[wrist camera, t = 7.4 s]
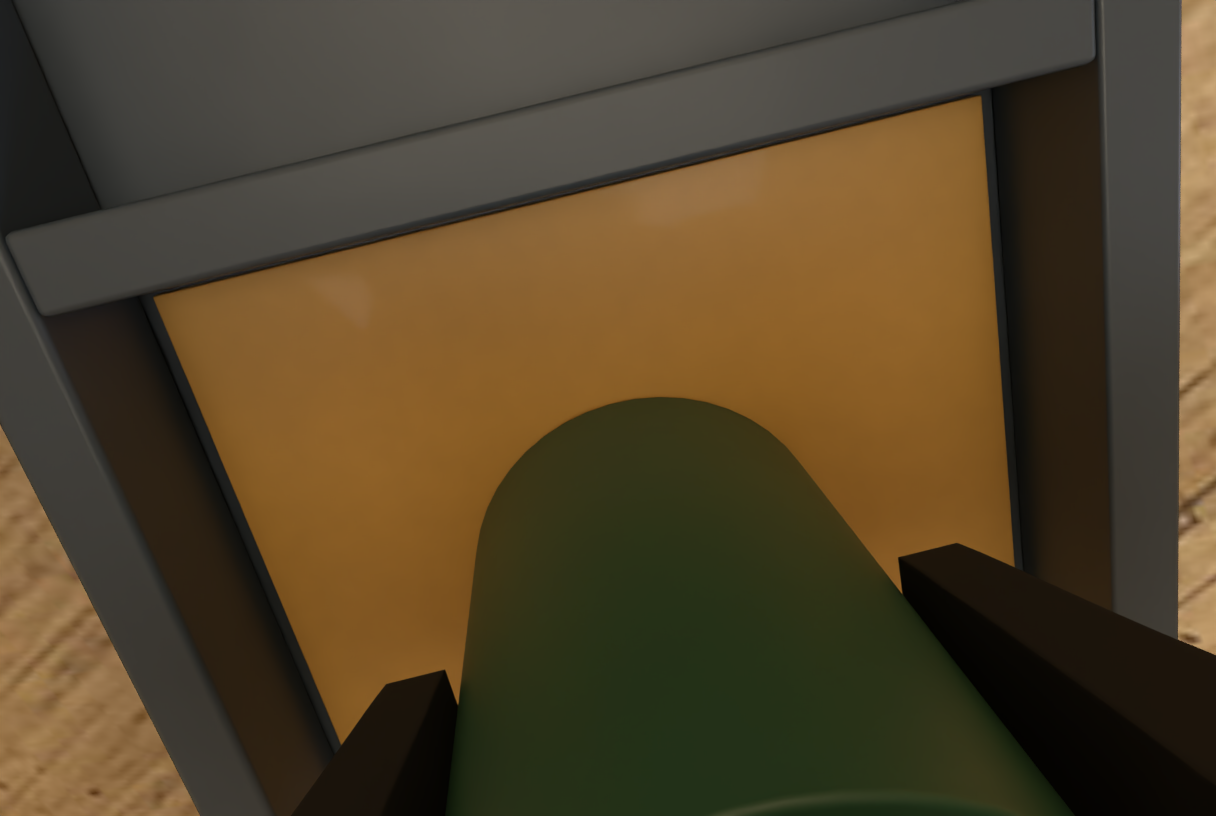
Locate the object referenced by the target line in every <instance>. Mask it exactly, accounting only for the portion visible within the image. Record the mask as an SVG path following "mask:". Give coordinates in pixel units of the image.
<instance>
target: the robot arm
mask: <svg viewBox="0 0 1216 816" xmlns="http://www.w3.org/2000/svg"><path fill="white" fill-rule="evenodd" d="M898 563H899V571H900V579H901V587H902V594H903V596H904V597H905V598H906V599H907V601H908V602H909V603H910V605H911V606H912V607H913V608H914V610H915V611H916V612H917V614H918V615H919V616H920V617H921V619H922V620H923V621H924V623H925V624H926V625H927V626H928V628H929V629H930V630H931V632H932V633H933V634H934V635H935V637H936V638H937V639H938V641H939V642H940V643H941V644H942V646H943V647H944V648H945V650H946V651H947V652H948V653H949V655H950V656H951V657H952V659H953V660H954V661H955V662H956V664H957V665H958V666H959V667H960V669H961V670H962V671H963V673H964V674H965V675H966V676H967V678H968V679H969V680H970V682H971V683H972V684H973V685H974V687H975V688H976V689H977V691H978V692H979V693H980V694H981V696H982V697H983V698H984V700H985V701H986V702H987V703H988V705H989V706H990V707H991V709H992V710H993V711H994V712H995V714H996V715H997V716H998V718H999V719H1000V720H1001V721H1002V723H1003V724H1004V725H1005V727H1006V728H1007V729H1008V730H1009V732H1010V733H1011V734H1012V735H1013V737H1014V738H1015V739H1016V741H1017V742H1018V743H1019V744H1020V746H1021V747H1022V748H1023V750H1024V751H1025V752H1026V753H1027V755H1028V756H1029V757H1030V759H1031V760H1032V761H1033V762H1034V764H1035V765H1036V766H1037V768H1038V769H1039V770H1040V771H1041V773H1042V774H1043V775H1044V777H1045V778H1046V779H1047V780H1048V782H1049V783H1050V784H1051V786H1052V787H1053V788H1054V789H1055V791H1056V792H1057V793H1058V795H1059V796H1060V797H1061V798H1062V800H1063V801H1064V802H1065V804H1066V805H1067V806H1068V807H1069V809H1070V810H1071V811H1072V812H1073V814H1074V815H1075V816H1216V655H1214V654H1211V653H1209V652H1206V651H1204V650H1202V649H1199V648H1197V647H1194V646H1192V645H1189V644H1187V643H1184V642H1182V641H1180V640H1177V639H1175V638H1173V637H1170V636H1168V635H1165V634H1163V633H1161V632H1158V631H1156V630H1154V629H1151V628H1149V627H1147V626H1144V625H1142V624H1140V623H1137V622H1135V621H1133V620H1131V619H1128V618H1126V617H1124V616H1121V615H1119V614H1117V613H1115V612H1112V611H1110V610H1108V609H1106V608H1103V607H1101V606H1099V605H1097V604H1094V603H1092V602H1090V601H1088V600H1085V599H1083V598H1081V597H1079V596H1077V595H1074V594H1072V593H1070V592H1068V591H1066V590H1063V589H1061V588H1059V587H1057V586H1055V585H1052V584H1050V583H1048V582H1046V581H1044V580H1041V579H1039V578H1037V577H1035V576H1033V575H1031V574H1028V573H1026V572H1024V571H1022V570H1020V569H1017V568H1015V567H1013V566H1011V565H1009V564H1006V563H1004V562H1002V561H1000V560H997V559H995V558H993V557H991V556H988V555H986V554H984V553H981V552H979V551H977V550H974V549H972V548H969V547H967V546H964V545H962V544H959V543H954V544H950V545H946V546H942V547H938V548H933V549H929V550H925V551H921V552H917V553H913V554H909V555H905V556H901V557H898ZM457 710H458V704H457V701H456V699H455V696H454V693H453V690H452V687H451V685H450V682H449V679H448V676H447V673H446V670H445V669H444V670H440V671H436V672H432V673H428V674H424V675H420V676H416V677H412V678H408V679H404V680H400V681H396V682H392V683H388V684H386V685H385V686H384V687H383V689H382V690H381V691H380V692H379V694H378V695H377V696H376V698H375V699H374V700H373V702H372V703H371V704H370V706H369V707H368V709H367V710H366V711H365V713H364V714H363V715H362V717H361V718H360V720H359V721H358V723H357V724H356V725H355V727H354V728H353V730H352V731H351V732H350V734H349V735H348V737H347V738H346V739H345V741H344V742H343V744H342V745H341V747H340V748H339V749H338V751H337V752H336V754H335V755H334V756H333V758H332V759H331V761H330V762H329V763H328V765H327V766H326V768H325V769H324V771H323V772H322V773H321V775H320V776H319V778H318V779H317V780H316V782H315V783H314V784H313V786H312V787H311V789H310V790H309V791H308V793H307V794H306V795H305V797H304V798H303V799H302V801H301V802H300V804H299V805H298V806H297V808H296V809H295V810H294V812H293V813H292V815H291V816H445V812H446V803H447V795H448V786H449V778H450V769H451V761H452V753H453V744H454V736H455V727H456V719H457Z"/></svg>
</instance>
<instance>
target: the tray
mask: <svg viewBox="0 0 1216 816" xmlns="http://www.w3.org/2000/svg"><path fill="white" fill-rule="evenodd" d="M1181 4H1182V0H0V425H1V427H2V429H3V431H4V432H5V434H6V436H7V438H8V440H9V442H10V444H11V446H12V448H13V450H14V452H15V454H16V456H17V458H18V460H19V462H20V464H21V466H22V468H23V470H24V472H25V474H26V476H27V477H28V479H29V481H30V483H31V485H32V487H33V489H34V491H35V493H36V495H37V497H38V499H39V501H40V503H41V505H42V507H43V509H44V511H45V513H46V515H47V517H48V519H49V521H50V522H51V524H52V526H53V528H54V530H55V532H56V534H57V536H58V538H59V540H60V542H61V544H62V546H63V548H64V550H65V552H66V554H67V556H68V558H69V560H70V562H71V564H72V566H73V567H74V569H75V571H76V573H77V575H78V577H79V579H80V581H81V583H82V585H83V587H84V589H85V591H86V593H87V595H88V597H89V599H90V601H91V603H92V605H93V607H94V609H95V611H96V612H97V614H98V616H99V618H100V620H101V622H102V624H103V626H104V628H105V630H106V632H107V634H108V636H109V638H110V640H111V642H112V644H113V646H114V648H115V650H116V652H117V654H118V656H119V657H120V659H121V661H122V663H123V665H124V667H125V669H126V671H127V673H128V675H129V677H130V679H131V681H132V683H133V685H134V687H135V689H136V691H137V693H138V695H139V697H140V699H141V701H142V702H143V704H144V706H145V708H146V710H147V712H148V714H149V716H150V718H151V720H152V722H153V724H154V726H155V728H156V730H157V732H158V734H159V736H160V738H161V740H162V742H163V744H164V746H165V747H166V749H167V751H168V753H169V755H170V757H171V759H172V761H173V763H174V765H175V767H176V769H177V771H178V773H179V775H180V777H181V779H182V781H183V783H184V785H185V787H186V789H187V791H188V793H189V794H190V796H191V798H192V800H193V802H194V804H195V806H196V808H197V810H198V812H199V814H200V816H291V815H292V813H293V812H294V810H295V809H296V808H297V806H298V805H299V804H300V802H301V801H302V799H303V798H304V797H305V795H306V794H307V793H308V791H309V790H310V789H311V787H312V786H313V784H314V783H315V782H316V780H317V779H318V778H319V776H320V775H321V773H322V772H323V771H324V769H325V768H326V766H327V765H328V763H329V762H330V761H331V759H332V758H333V756H334V755H335V754H336V752H337V751H338V749H339V748H340V747H341V745H342V744H343V742H344V741H345V739H346V738H347V737H348V735H349V734H350V732H351V731H352V730H353V728H354V727H355V725H356V724H357V723H358V721H359V720H360V718H361V717H362V715H363V714H364V713H365V711H366V710H367V709H368V707H369V706H370V704H371V703H372V702H373V700H374V699H375V698H376V696H377V695H378V694H379V692H380V691H381V690H382V689H383V687H384V686H385V685H386V684H388V683H392V682H396V681H400V680H404V679H408V678H412V677H416V676H420V675H424V674H428V673H432V672H436V671H440V670H444V669H445V670H446V673H447V676H448V679H449V682H450V685H451V687H452V690H453V693H454V696H455V699H456V701H457V704H458V702H459V694H460V685H461V677H462V668H463V660H464V652H465V643H466V635H467V626H468V618H469V609H470V601H471V593H472V584H473V576H474V567H475V559H476V550H477V545H478V539H479V533H480V528H481V525H482V522H483V519H484V516H485V513H486V510H487V507H488V505H489V503H490V501H491V499H492V497H493V495H494V493H495V491H496V489H497V488H498V486H499V485H500V483H501V482H502V480H503V479H504V477H505V476H506V474H507V473H508V472H509V470H510V469H511V468H512V467H513V465H514V464H515V463H516V462H517V461H518V460H519V459H520V458H521V457H522V455H523V454H524V453H525V452H526V451H527V450H528V449H530V448H531V447H532V446H533V445H534V444H536V443H537V442H538V441H539V440H540V439H541V438H543V437H544V436H545V435H547V434H548V433H550V432H551V431H553V430H554V429H556V428H557V427H559V426H561V425H562V424H564V423H565V422H567V421H569V420H571V419H574V418H576V417H578V416H580V415H582V414H584V413H586V412H588V411H591V410H594V409H597V408H600V407H603V406H606V405H609V404H613V403H618V402H623V401H627V400H632V399H641V398H654V397H669V398H685V399H691V400H697V401H703V402H708V403H711V404H714V405H717V406H720V407H724V408H727V409H730V410H732V411H734V412H736V413H738V414H741V415H743V416H745V417H747V418H749V419H751V420H752V421H754V422H756V423H757V424H759V425H760V426H762V427H763V428H765V429H766V430H768V431H769V432H770V433H772V434H773V435H774V436H775V437H776V438H777V439H778V440H780V441H781V442H782V443H783V444H784V445H785V446H786V447H787V448H788V449H789V450H790V452H791V453H792V454H793V455H794V456H795V457H796V459H797V460H798V461H799V462H800V463H801V465H802V466H803V467H804V469H805V470H806V471H807V472H808V474H809V475H810V476H811V478H812V479H813V480H814V481H815V483H816V484H817V485H818V487H819V488H820V489H821V490H822V492H823V493H824V494H825V496H826V497H827V498H828V499H829V501H830V502H831V503H832V505H833V506H834V507H835V508H836V510H837V511H838V512H839V514H840V515H841V516H842V517H843V519H844V520H845V521H846V523H847V524H848V525H849V526H850V528H851V529H852V530H853V531H854V533H855V534H856V535H857V537H858V538H859V539H860V540H861V542H862V543H863V544H864V546H865V547H866V548H867V549H868V551H869V552H870V553H871V555H872V556H873V557H874V558H875V560H876V561H877V562H878V564H879V565H880V566H881V567H882V569H883V570H884V571H885V573H886V574H887V575H888V576H889V578H890V579H891V580H892V582H893V583H894V584H895V585H896V587H897V588H898V589H899V591H900V592H901V593H902V587H901V579H900V571H899V563H898V557H901V556H905V555H909V554H913V553H917V552H921V551H925V550H929V549H933V548H938V547H942V546H946V545H950V544H954V543H959V544H962V545H964V546H967V547H969V548H972V549H974V550H977V551H979V552H981V553H984V554H986V555H988V556H991V557H993V558H995V559H997V560H1000V561H1002V562H1004V563H1006V564H1009V565H1011V566H1013V567H1015V568H1017V569H1020V570H1022V571H1024V572H1026V573H1028V574H1031V575H1033V576H1035V577H1037V578H1039V579H1041V580H1044V581H1046V582H1048V583H1050V584H1052V585H1055V586H1057V587H1059V588H1061V589H1063V590H1066V591H1068V592H1070V593H1072V594H1074V595H1077V596H1079V597H1081V598H1083V599H1085V600H1088V601H1090V602H1092V603H1094V604H1097V605H1099V606H1101V607H1103V608H1106V609H1108V610H1110V611H1112V612H1115V613H1117V614H1119V615H1121V616H1124V617H1126V618H1128V619H1131V620H1133V621H1135V622H1137V623H1140V624H1142V625H1144V626H1147V627H1149V628H1151V629H1154V630H1156V631H1158V632H1161V633H1163V634H1165V635H1168V636H1170V637H1173V638H1175V639H1177V640H1178V518H1179V347H1180V175H1181Z"/></svg>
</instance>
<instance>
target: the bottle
mask: <svg viewBox="0 0 1216 816" xmlns="http://www.w3.org/2000/svg"><path fill="white" fill-rule="evenodd" d="M445 816H1075V815H1074V814H1073V812H1072V811H1071V810H1070V809H1069V807H1068V806H1067V805H1066V804H1065V802H1064V801H1063V800H1062V798H1061V797H1060V796H1059V795H1058V793H1057V792H1056V791H1055V789H1054V788H1053V787H1052V786H1051V784H1050V783H1049V782H1048V780H1047V779H1046V778H1045V777H1044V775H1043V774H1042V773H1041V771H1040V770H1039V769H1038V768H1037V766H1036V765H1035V764H1034V762H1033V761H1032V760H1031V759H1030V757H1029V756H1028V755H1027V753H1026V752H1025V751H1024V750H1023V748H1022V747H1021V746H1020V744H1019V743H1018V742H1017V741H1016V739H1015V738H1014V737H1013V735H1012V734H1011V733H1010V732H1009V730H1008V729H1007V728H1006V727H1005V725H1004V724H1003V723H1002V721H1001V720H1000V719H999V718H998V716H997V715H996V714H995V712H994V711H993V710H992V709H991V707H990V706H989V705H988V703H987V702H986V701H985V700H984V698H983V697H982V696H981V694H980V693H979V692H978V691H977V689H976V688H975V687H974V685H973V684H972V683H971V682H970V680H969V679H968V678H967V676H966V675H965V674H964V673H963V671H962V670H961V669H960V667H959V666H958V665H957V664H956V662H955V661H954V660H953V659H952V657H951V656H950V655H949V653H948V652H947V651H946V650H945V648H944V647H943V646H942V644H941V643H940V642H939V641H938V639H937V638H936V637H935V635H934V634H933V633H932V632H931V630H930V629H929V628H928V626H927V625H926V624H925V623H924V621H923V620H922V619H921V617H920V616H919V615H918V614H917V612H916V611H915V610H914V608H913V607H912V606H911V605H910V603H909V602H908V601H907V599H906V598H905V597H904V596H903V594H902V593H901V592H900V591H899V589H898V588H897V587H896V585H895V584H894V583H893V582H892V580H891V579H890V578H889V576H888V575H887V574H886V573H885V571H884V570H883V569H882V567H881V566H880V565H879V564H878V562H877V561H876V560H875V558H874V557H873V556H872V555H871V553H870V552H869V551H868V549H867V548H866V547H865V546H864V544H863V543H862V542H861V540H860V539H859V538H858V537H857V535H856V534H855V533H854V531H853V530H852V529H851V528H850V526H849V525H848V524H847V523H846V521H845V520H844V519H843V517H842V516H841V515H840V514H839V512H838V511H837V510H836V508H835V507H834V506H833V505H832V503H831V502H830V501H829V499H828V498H827V497H826V496H825V494H824V493H823V492H822V490H821V489H820V488H819V487H818V485H817V484H816V483H815V481H814V480H813V479H812V478H811V476H810V475H809V474H808V472H807V471H806V470H805V469H804V467H803V466H802V465H801V463H800V462H799V461H798V460H797V459H796V457H795V456H794V455H793V454H792V453H791V452H790V450H789V449H788V448H787V447H786V446H785V445H784V444H783V443H782V442H781V441H780V440H778V439H777V438H776V437H775V436H774V435H773V434H772V433H770V432H769V431H768V430H766V429H765V428H763V427H762V426H760V425H759V424H757V423H756V422H754V421H752V420H751V419H749V418H747V417H745V416H743V415H741V414H738V413H736V412H734V411H732V410H730V409H727V408H724V407H720V406H717V405H714V404H711V403H708V402H703V401H697V400H691V399H685V398H669V397H654V398H641V399H632V400H627V401H623V402H618V403H613V404H609V405H606V406H603V407H600V408H597V409H594V410H591V411H588V412H586V413H584V414H582V415H580V416H578V417H576V418H574V419H571V420H569V421H567V422H565V423H564V424H562V425H561V426H559V427H557V428H556V429H554V430H553V431H551V432H550V433H548V434H547V435H545V436H544V437H543V438H541V439H540V440H539V441H538V442H537V443H536V444H534V445H533V446H532V447H531V448H530V449H528V450H527V451H526V452H525V453H524V454H523V455H522V457H521V458H520V459H519V460H518V461H517V462H516V463H515V464H514V465H513V467H512V468H511V469H510V470H509V472H508V473H507V474H506V476H505V477H504V479H503V480H502V482H501V483H500V485H499V486H498V488H497V489H496V491H495V493H494V495H493V497H492V499H491V501H490V503H489V505H488V507H487V510H486V513H485V516H484V519H483V522H482V525H481V528H480V533H479V539H478V545H477V550H476V559H475V567H474V576H473V584H472V593H471V601H470V609H469V618H468V626H467V635H466V643H465V652H464V660H463V668H462V677H461V685H460V694H459V702H458V710H457V719H456V727H455V736H454V744H453V753H452V761H451V769H450V778H449V786H448V795H447V803H446V812H445Z"/></svg>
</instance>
